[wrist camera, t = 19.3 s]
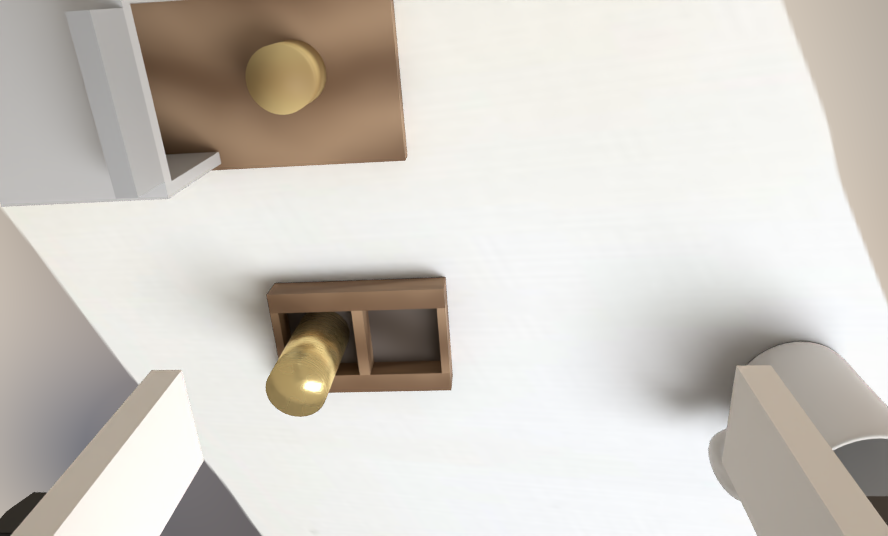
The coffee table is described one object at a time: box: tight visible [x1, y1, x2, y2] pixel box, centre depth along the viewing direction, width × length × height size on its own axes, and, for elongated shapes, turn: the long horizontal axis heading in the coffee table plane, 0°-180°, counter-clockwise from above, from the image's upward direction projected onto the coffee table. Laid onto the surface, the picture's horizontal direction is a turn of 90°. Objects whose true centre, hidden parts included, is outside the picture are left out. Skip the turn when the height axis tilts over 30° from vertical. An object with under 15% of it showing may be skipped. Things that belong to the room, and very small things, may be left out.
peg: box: [266, 312, 350, 417], centre depth 47 cm, size 4×4×8 cm
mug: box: [708, 342, 888, 501], centre depth 45 cm, size 12×8×11 cm
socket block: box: [267, 277, 453, 393], centre depth 49 cm, size 8×13×2 cm, turn 94°
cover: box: [0, 0, 221, 207], centre depth 38 cm, size 11×10×11 cm
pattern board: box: [130, 0, 407, 170], centre depth 41 cm, size 12×20×5 cm, turn 94°
